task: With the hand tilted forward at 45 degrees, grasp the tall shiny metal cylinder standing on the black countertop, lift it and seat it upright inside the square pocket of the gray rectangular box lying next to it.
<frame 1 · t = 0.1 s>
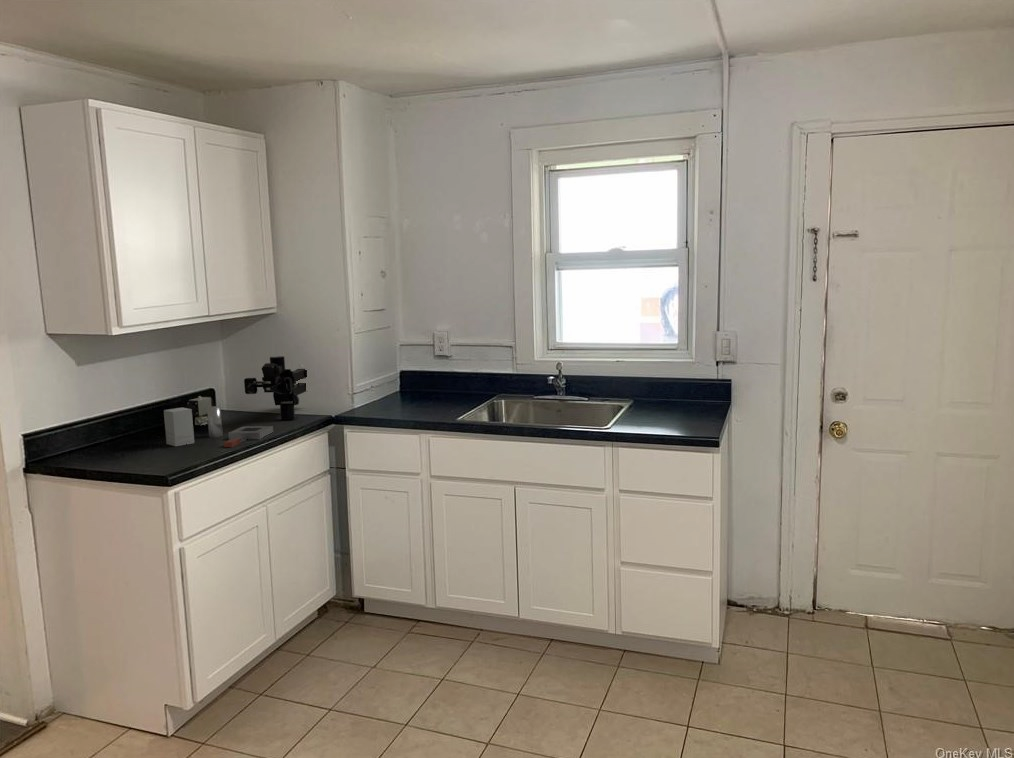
hand: (259, 389, 300), 17 cm above the table, tool horizontal, fingers open, 9 cm apart
shiny metal cylinder: (216, 436, 296), on the table
pneumatic valve: (200, 425, 319), on the table
supplement box: (180, 444, 285), on the table
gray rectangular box: (251, 436, 295), on the table
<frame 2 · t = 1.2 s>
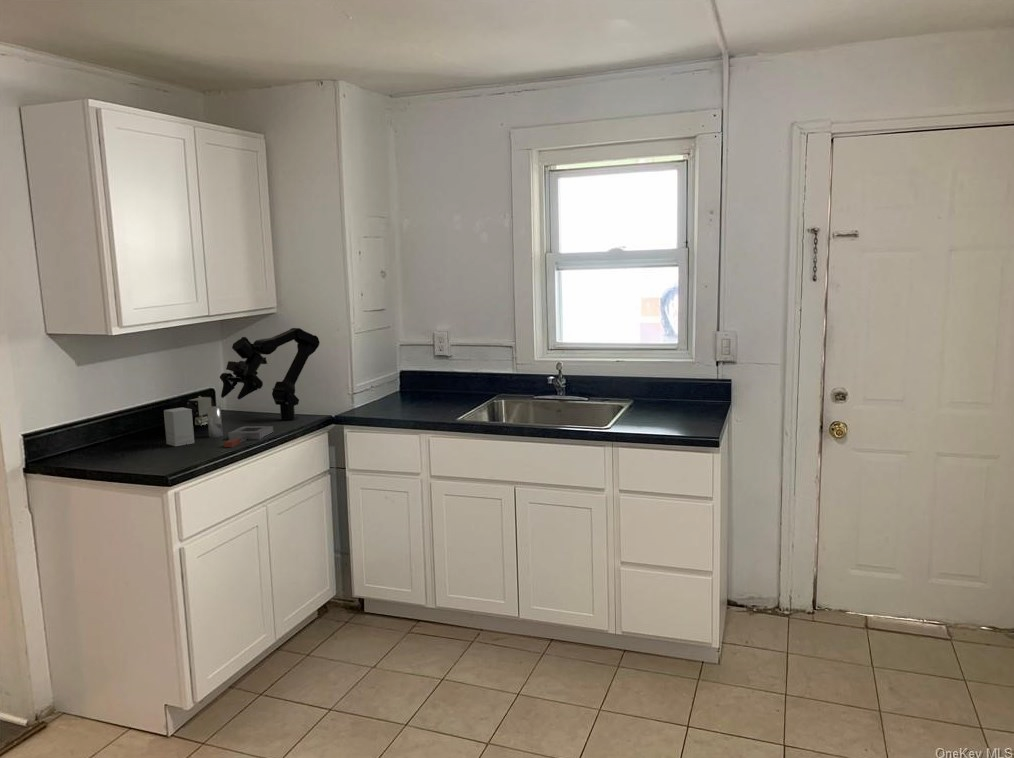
hand: (230, 398, 301), 13 cm above the table, tool tilted 45°, fingers open, 9 cm apart
nothing on the table moved.
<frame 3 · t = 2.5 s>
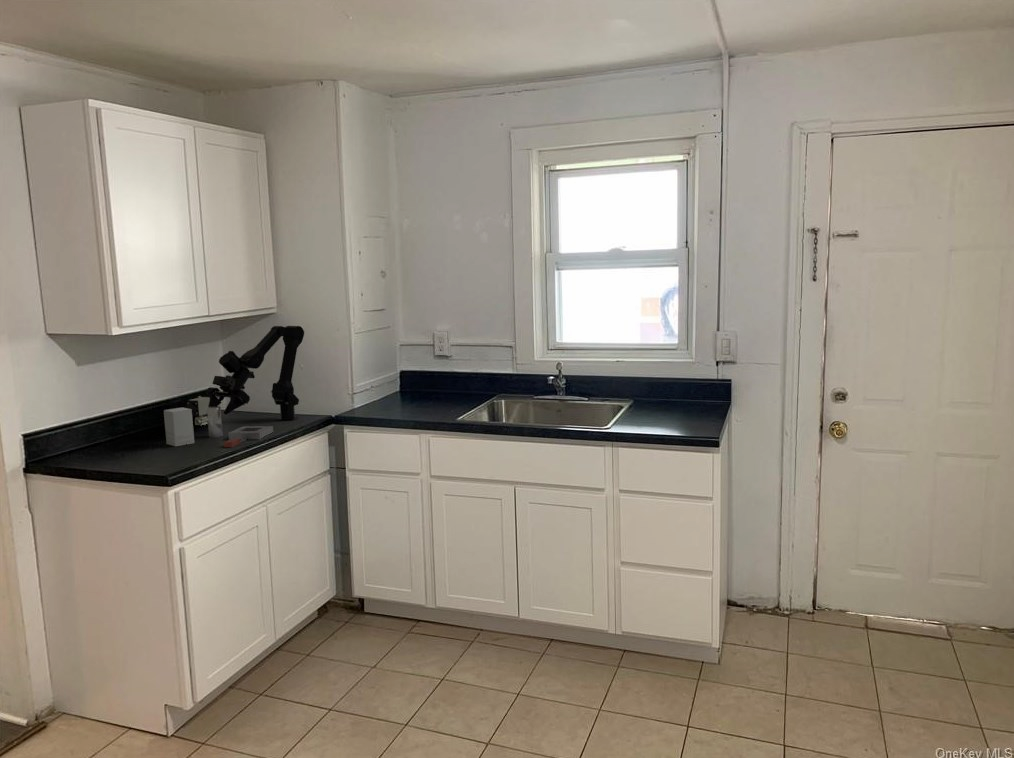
hand: (216, 413, 296), 9 cm above the table, tool tilted 45°, fingers open, 9 cm apart
nothing on the table moved.
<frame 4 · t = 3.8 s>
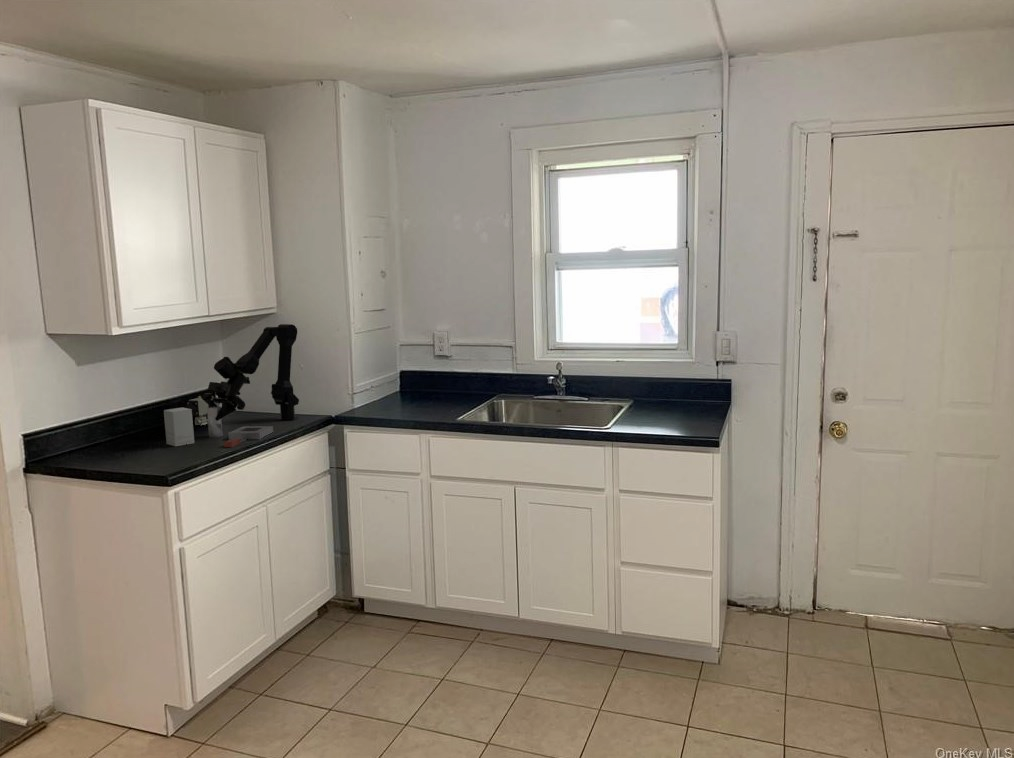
hand: (211, 419, 294), 7 cm above the table, tool tilted 45°, fingers closed on shiny metal cylinder, 5 cm apart
shiny metal cylinder: (216, 436, 296), on the table, touching gripper
everything else where it was.
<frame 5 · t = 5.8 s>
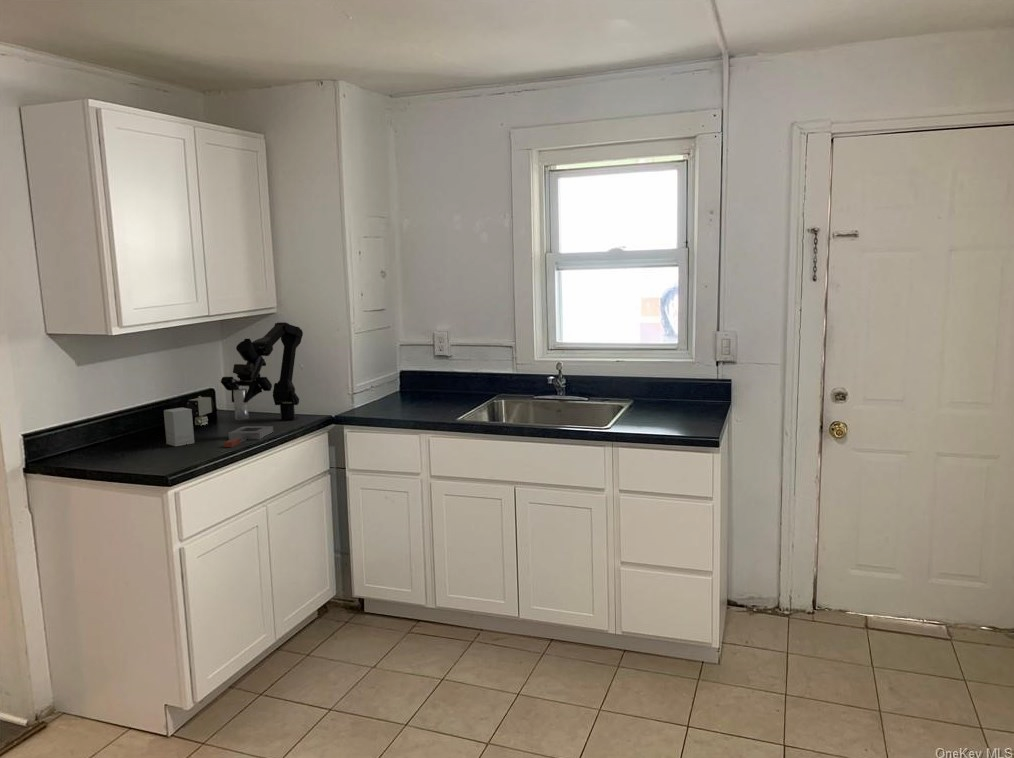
hand: (238, 402, 292), 13 cm above the table, tool tilted 45°, fingers closed on shiny metal cylinder, 5 cm apart
shiny metal cylinder: (242, 418, 294), point 7 cm above the table, touching gripper
everything else where it was.
when the fingers open (8 cm above the table, at t = 7.8 s): shiny metal cylinder stays where it is, resting on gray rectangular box.
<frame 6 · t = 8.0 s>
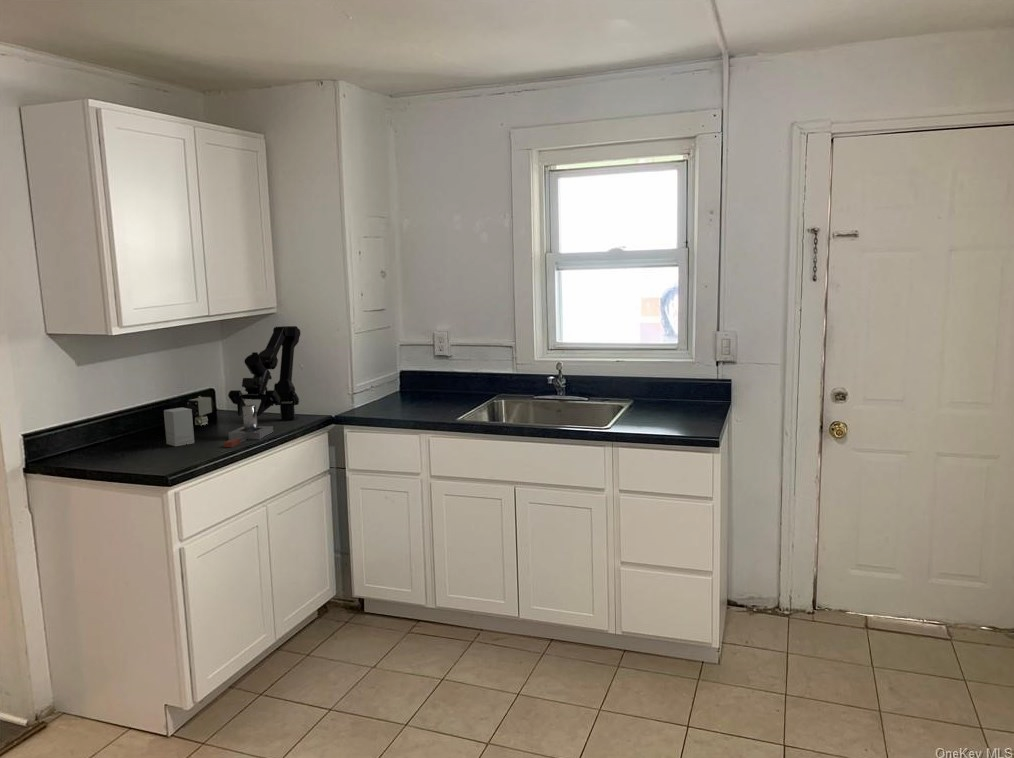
hand: (248, 415, 292), 8 cm above the table, tool tilted 45°, fingers open, 7 cm apart
shiny metal cylinder: (251, 434, 295), point 1 cm above the table, touching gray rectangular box
everything else where it was.
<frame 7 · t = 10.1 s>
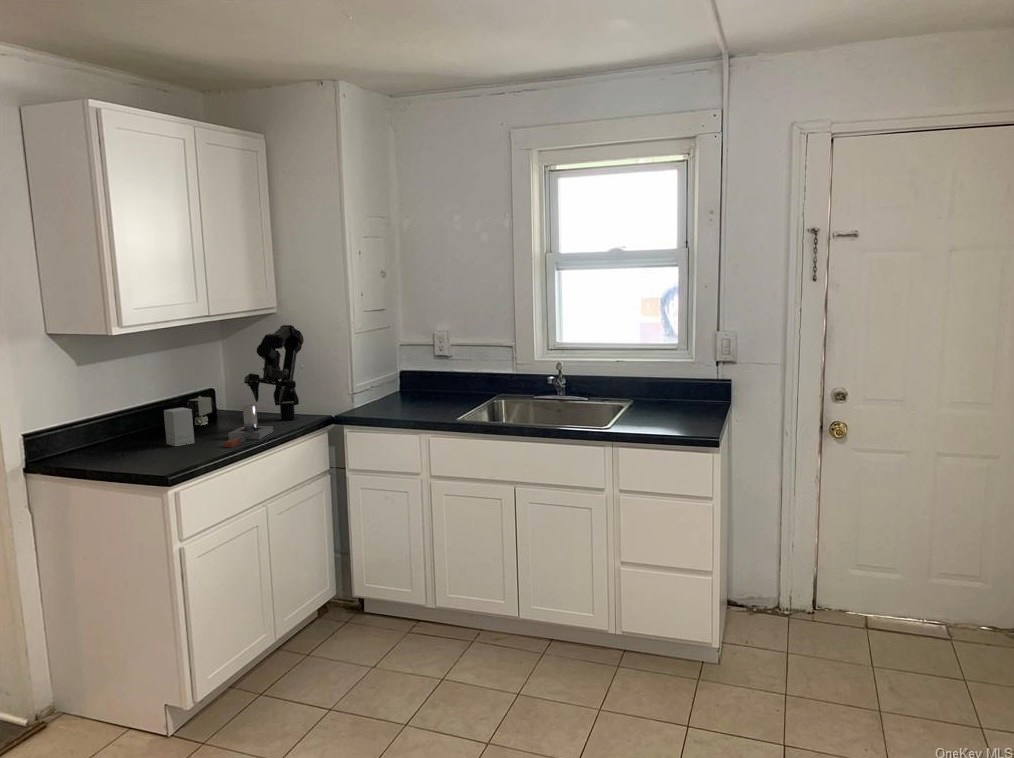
hand: (268, 403, 304), 11 cm above the table, tool tilted 25°, fingers open, 9 cm apart
nothing on the table moved.
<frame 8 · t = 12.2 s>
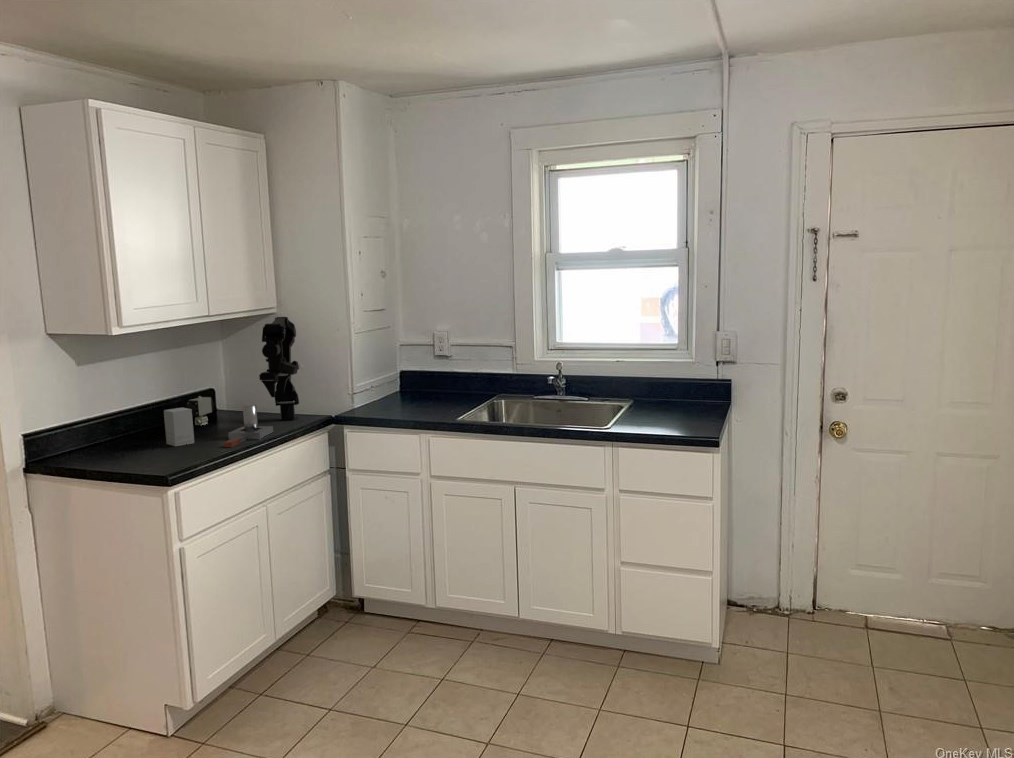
hand: (277, 395, 307), 13 cm above the table, tool pointing down, fingers open, 9 cm apart
nothing on the table moved.
at the end: shiny metal cylinder 0.1 cm off-centre on the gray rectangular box, point 0.6 cm above the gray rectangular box's base; shiny metal cylinder tilted 1°; shiny metal cylinder touching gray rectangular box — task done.
